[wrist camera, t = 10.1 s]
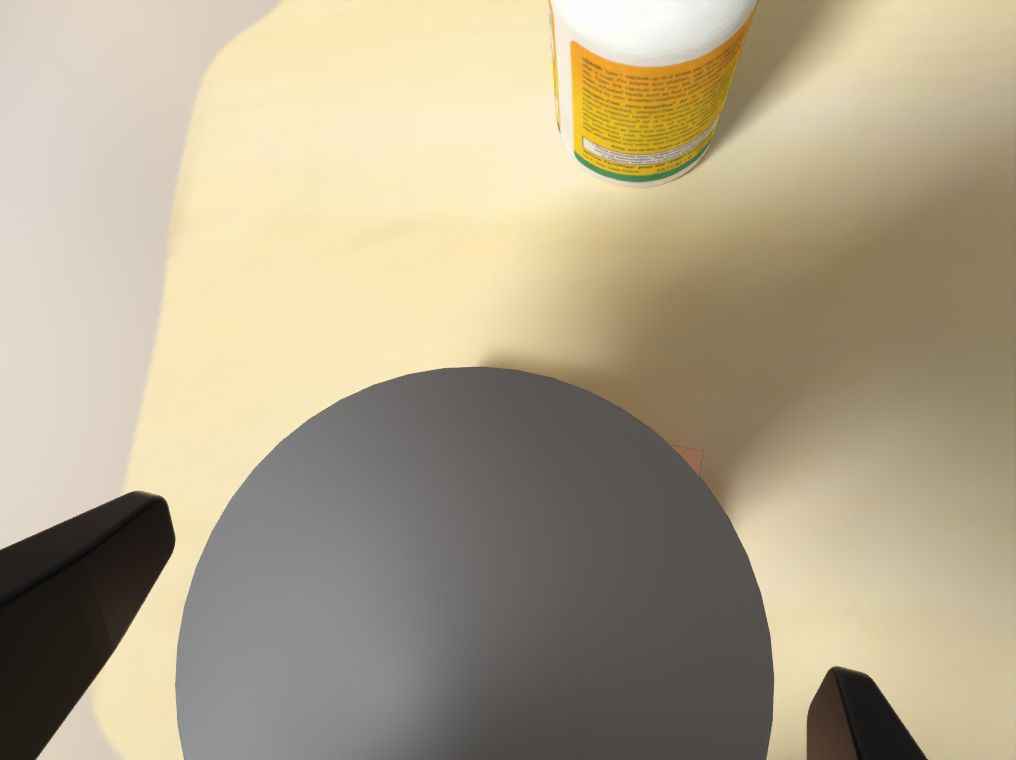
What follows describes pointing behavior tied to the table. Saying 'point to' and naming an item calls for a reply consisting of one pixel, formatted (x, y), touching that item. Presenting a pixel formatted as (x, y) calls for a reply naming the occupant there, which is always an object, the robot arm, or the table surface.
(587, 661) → the charcoal mill
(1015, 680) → the table surface
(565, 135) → the supplement bottle
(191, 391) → the table surface
